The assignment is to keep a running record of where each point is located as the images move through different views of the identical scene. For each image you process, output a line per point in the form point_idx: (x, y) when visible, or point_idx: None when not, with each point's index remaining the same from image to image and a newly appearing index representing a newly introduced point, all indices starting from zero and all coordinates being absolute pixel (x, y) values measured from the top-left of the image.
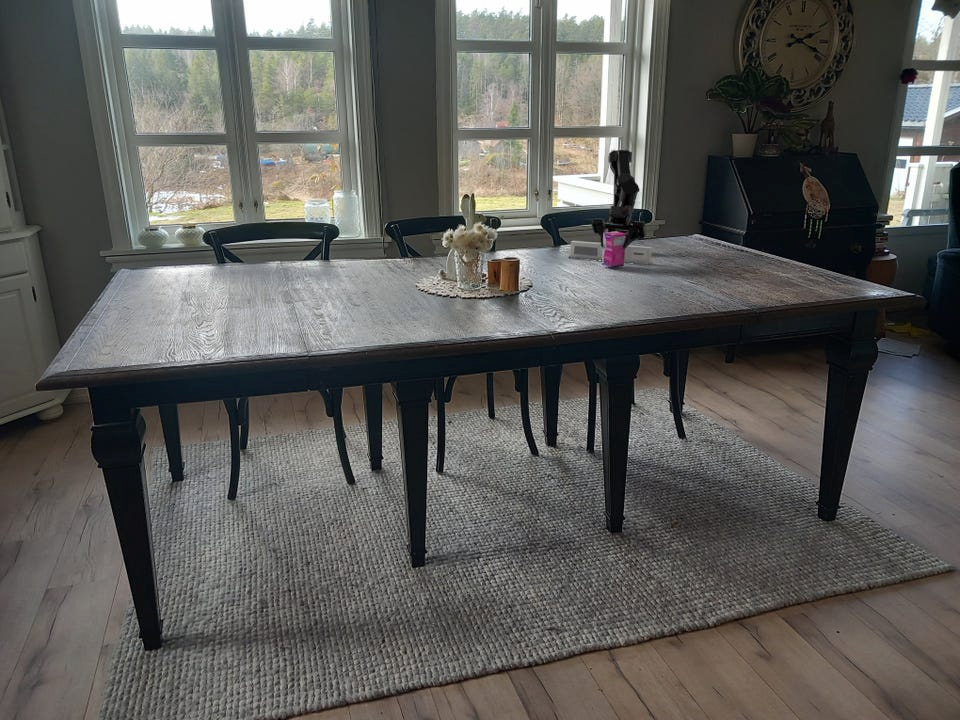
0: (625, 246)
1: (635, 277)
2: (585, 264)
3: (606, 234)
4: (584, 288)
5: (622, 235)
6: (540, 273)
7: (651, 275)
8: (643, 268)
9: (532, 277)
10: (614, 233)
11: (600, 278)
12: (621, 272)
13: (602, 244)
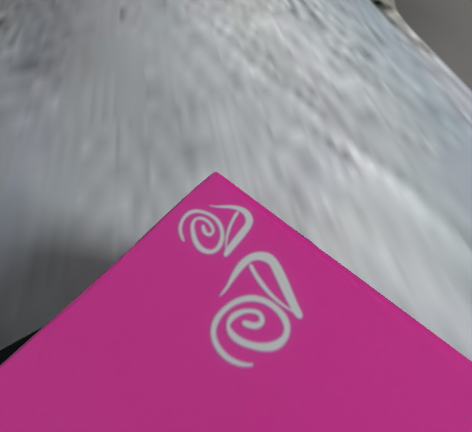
0: None
1: (99, 161)
2: None
3: (395, 309)
4: (247, 12)
5: (17, 354)
6: (455, 123)
7: (16, 219)
8: None
9: (436, 72)
10: (225, 390)
11: (233, 112)
12: None
13: None
